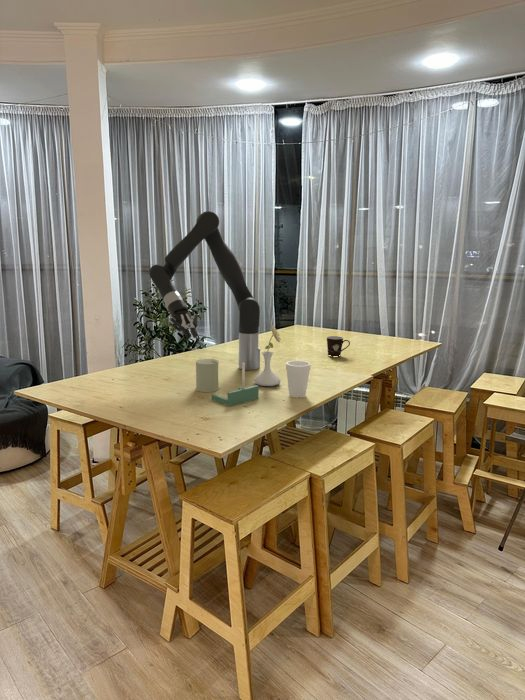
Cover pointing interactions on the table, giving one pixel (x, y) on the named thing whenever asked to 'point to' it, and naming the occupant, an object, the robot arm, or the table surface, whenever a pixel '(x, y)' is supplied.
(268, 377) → the flower in vase
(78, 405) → the table surface
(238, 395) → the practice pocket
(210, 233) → the robot arm
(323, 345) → the table surface
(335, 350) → the coffee mug
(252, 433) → the table surface
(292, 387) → the foam cup
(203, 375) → the can
